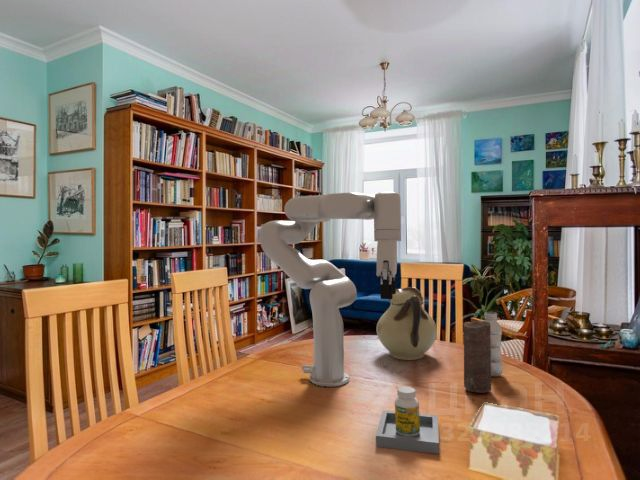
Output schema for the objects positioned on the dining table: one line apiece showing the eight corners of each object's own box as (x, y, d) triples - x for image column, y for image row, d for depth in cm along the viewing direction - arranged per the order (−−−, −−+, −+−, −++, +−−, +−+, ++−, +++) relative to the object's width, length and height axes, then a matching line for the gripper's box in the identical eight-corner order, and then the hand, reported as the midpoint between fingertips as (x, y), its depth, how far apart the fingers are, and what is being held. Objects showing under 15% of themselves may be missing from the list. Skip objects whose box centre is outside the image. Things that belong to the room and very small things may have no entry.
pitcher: (400, 343, 165) (398, 284, 164) (452, 355, 147) (450, 289, 147) (365, 356, 150) (363, 290, 149) (418, 370, 132) (416, 297, 132)
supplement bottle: (420, 428, 91) (419, 386, 91) (418, 439, 86) (417, 395, 86) (397, 425, 93) (396, 384, 93) (393, 435, 87) (392, 392, 88)
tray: (376, 446, 84) (375, 435, 84) (382, 419, 97) (382, 410, 97) (439, 454, 81) (439, 443, 81) (437, 425, 93) (437, 415, 93)
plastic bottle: (481, 377, 124) (479, 314, 124) (481, 370, 130) (479, 310, 130) (503, 380, 121) (502, 315, 121) (502, 372, 128) (501, 311, 128)
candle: (494, 397, 108) (492, 325, 108) (466, 396, 110) (464, 324, 110) (488, 387, 116) (486, 319, 116) (462, 385, 117) (460, 319, 117)
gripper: (378, 236, 121) (379, 291, 121) (369, 236, 104) (370, 300, 104) (403, 235, 119) (404, 292, 119) (398, 235, 102) (399, 301, 102)
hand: (388, 296), depth 111 cm, fingers open, 9 cm apart
